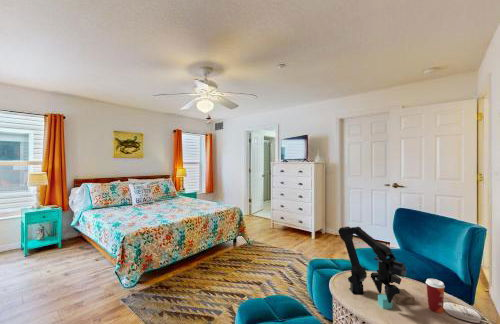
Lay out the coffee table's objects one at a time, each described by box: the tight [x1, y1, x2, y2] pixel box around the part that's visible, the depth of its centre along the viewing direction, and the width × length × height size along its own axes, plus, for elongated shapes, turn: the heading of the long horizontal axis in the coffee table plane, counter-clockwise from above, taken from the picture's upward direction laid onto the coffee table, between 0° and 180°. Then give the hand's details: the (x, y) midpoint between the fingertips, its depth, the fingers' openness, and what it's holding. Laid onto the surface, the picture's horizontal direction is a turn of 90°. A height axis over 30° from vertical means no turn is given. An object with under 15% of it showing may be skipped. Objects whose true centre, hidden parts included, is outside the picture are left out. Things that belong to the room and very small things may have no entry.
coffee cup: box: [425, 278, 446, 314], centre depth 127 cm, size 8×8×15 cm
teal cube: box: [377, 294, 393, 310], centre depth 130 cm, size 5×5×5 cm
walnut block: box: [392, 288, 415, 305], centre depth 136 cm, size 9×9×4 cm
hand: (384, 297), depth 131 cm, fingers open, 9 cm apart
